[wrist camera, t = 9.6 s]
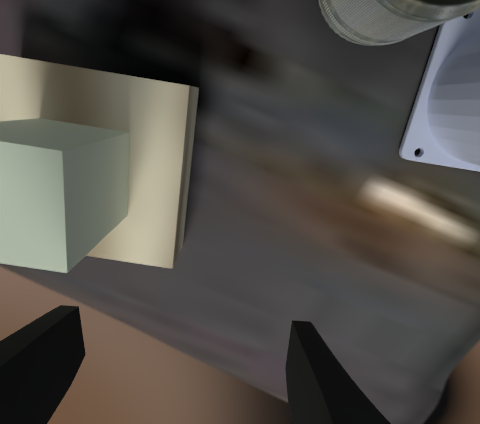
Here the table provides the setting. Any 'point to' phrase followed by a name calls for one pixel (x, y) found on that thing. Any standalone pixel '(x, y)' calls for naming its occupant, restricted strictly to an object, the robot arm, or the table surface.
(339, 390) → the robot arm
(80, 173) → the sage block
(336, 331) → the table surface
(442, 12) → the camera lens
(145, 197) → the birch block
